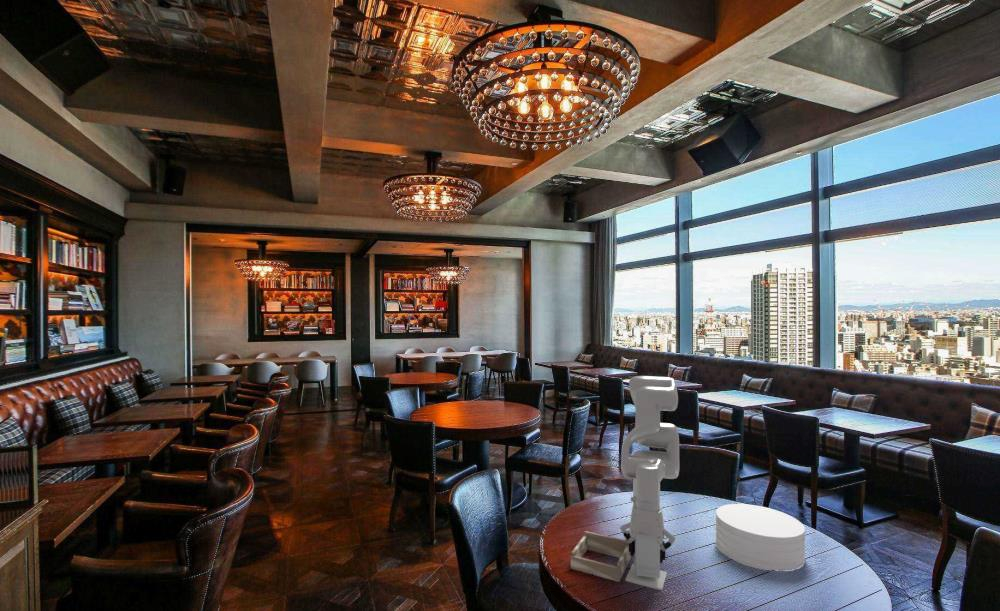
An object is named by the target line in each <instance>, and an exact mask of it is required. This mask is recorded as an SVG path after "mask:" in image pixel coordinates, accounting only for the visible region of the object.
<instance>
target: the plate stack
mask: <svg viewBox="0 0 1000 611" xmlns="http://www.w3.org/2000/svg"><path fill="white" fill-rule="evenodd" d="M805 542H806V527H805V525H804V524H803V523H802V522H801V521H800V520H798V519H797V518H795V517H794V516H792V515H789V514H787V513H785V512H783V511H781V510H780V511H779V510H777V509H774V508H770V507H766V506H762V505H756V504H747V503H728V504H724V505H721V506H718V508H717V509H716V510H715V545H716V548H717V547H718V548H717V549H718V550H719V551H720V553H722V554H723V555H724V554H725V555H724V556H726V557H727V556H728V557H727V558H729V559H731V560H732V559H733V560H732V561H734V560H735V561H734V562H736V563H739V564H741V563H742V565H744V566H747V567H750V568H753V567H754V569H757V568H759V569H758V570H761V569H766V570H775V571H776V570H778V571H785V570H792V569H796V568H798V567H800V566H802V565H803V564H804V562H805V563H806V558H805V557H806V550H805V549H806V543H805ZM804 565H805V564H804ZM766 570H765V571H766Z"/></svg>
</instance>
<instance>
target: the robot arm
mask: <svg viewBox="0 0 1000 611" xmlns="http://www.w3.org/2000/svg"><path fill="white" fill-rule="evenodd" d="M677 386H678V385H677V382H676V380H675V379H674V378H673V377H669V376H654V375H635V376H632V377H630V379H629V381H628V389H629V393H630V396H631V399H632V402H633V404H634V410H635V419H634V420H635V421H634V422H635V423H634V424H635V425H634V428H632V430H631V431H629V432H628V434H627V435H626V436H625V438H624V440H623V443H622V445H621V458H620V459H621V460H620V461H621V462H620V463H621V464H620V469H621V473H622V476H624V477H625V478H627V479H631V480H632V486H633V488H632V494H633V495H632V496H631V497H630V502H632V506H631V514H630V522H627V523H624V524H621V526H620V527H619V529H620V530H621V533H622V534H623V537H624V538H625V540H627V541H628V543H629V552H630V556H631V557H634V553H635V539H636V534H637V533H638V534H643V535H647V536H652V537H656V539H657V544H660V565H662V564H663V562H664V561H666V551H667V550H668V549H669V548H671V547H672V545H673V544H674V543H675V541H676V537H675V536H674V535H673V534H672V533H671V532H669V531H668V530H667V529H665V523H664V522H665V521H664V514H663V510H662V508H661V481H662V480H663V479H669V480H674V479H677V478H678V477H679V476H680V435H679V430H678V427H677V426H676V425H675V424H673V423H668V422H661V411H662V412H663V411H664V412H665V411H668V412H674V411H676V409H678V404H679V394H678V388H677ZM634 443H637V444H638V445H639V446H641V447H646V448H647V447H649V448H658V449H664V450H666V451H657V450H648V449H646V450H645V449H639V450H635V451H634V452H633V453H632V454H631V452H630V451H631V448H632V446H633V445H634ZM665 537H666V538H667V539H668V541H666V542H665V541H664V538H665Z"/></svg>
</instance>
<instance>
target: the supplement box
mask: <svg viewBox="0 0 1000 611" xmlns="http://www.w3.org/2000/svg"><path fill="white" fill-rule="evenodd" d="M634 541H635V553H634V555H633V557H634V558H633V560H634V561H633V563H634V566H635V572H636V575H638V576H645V577H653V578H660V570H661V563H660V549H661V548H660V544H657V539H656V537H652V536H647V535H643V534H638V533H637V534H636V539H634Z"/></svg>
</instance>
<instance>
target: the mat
mask: <svg viewBox="0 0 1000 611" xmlns="http://www.w3.org/2000/svg"><path fill="white" fill-rule="evenodd" d="M628 570H629V571H628V573H627V575H626V577H625V582H628V583H631V584H636V585H639V586H643V587H647V588H650V589H654V590H659V591H663V589H664V585H665V582H666V579H667V576H668V571H665V570H661V569H660V578H653V577H645V576H638V575H636V572H635V566H634V562H633V563H632V564H631V567H630V569H628Z"/></svg>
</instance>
